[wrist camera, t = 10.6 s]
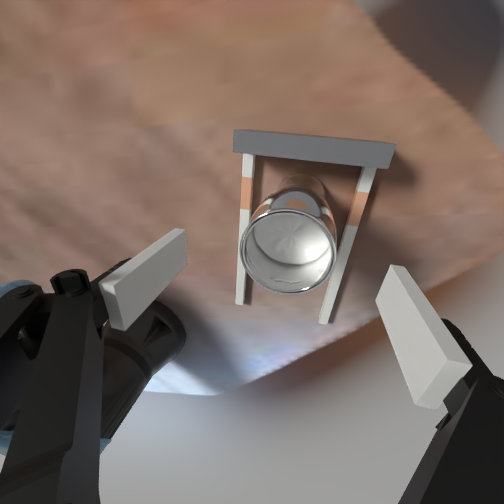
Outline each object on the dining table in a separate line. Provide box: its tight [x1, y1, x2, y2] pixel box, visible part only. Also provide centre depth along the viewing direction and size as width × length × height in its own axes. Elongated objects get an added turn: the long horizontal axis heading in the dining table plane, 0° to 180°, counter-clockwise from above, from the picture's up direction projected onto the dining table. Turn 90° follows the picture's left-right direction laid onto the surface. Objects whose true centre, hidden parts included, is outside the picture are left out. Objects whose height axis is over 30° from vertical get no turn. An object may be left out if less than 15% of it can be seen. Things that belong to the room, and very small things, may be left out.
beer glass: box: [240, 173, 337, 295], centre depth 22 cm, size 7×7×15 cm
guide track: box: [233, 130, 397, 325], centre depth 29 cm, size 25×14×5 cm, turn 176°
